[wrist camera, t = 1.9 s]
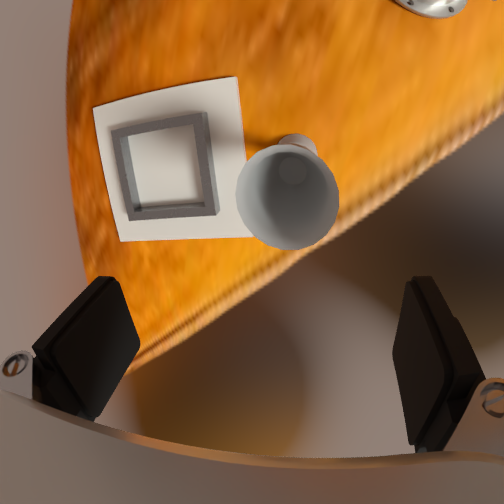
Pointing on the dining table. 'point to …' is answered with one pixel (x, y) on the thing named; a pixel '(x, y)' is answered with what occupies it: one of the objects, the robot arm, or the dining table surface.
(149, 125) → the collar
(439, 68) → the dining table surface
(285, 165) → the chalice
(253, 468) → the robot arm
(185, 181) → the board
